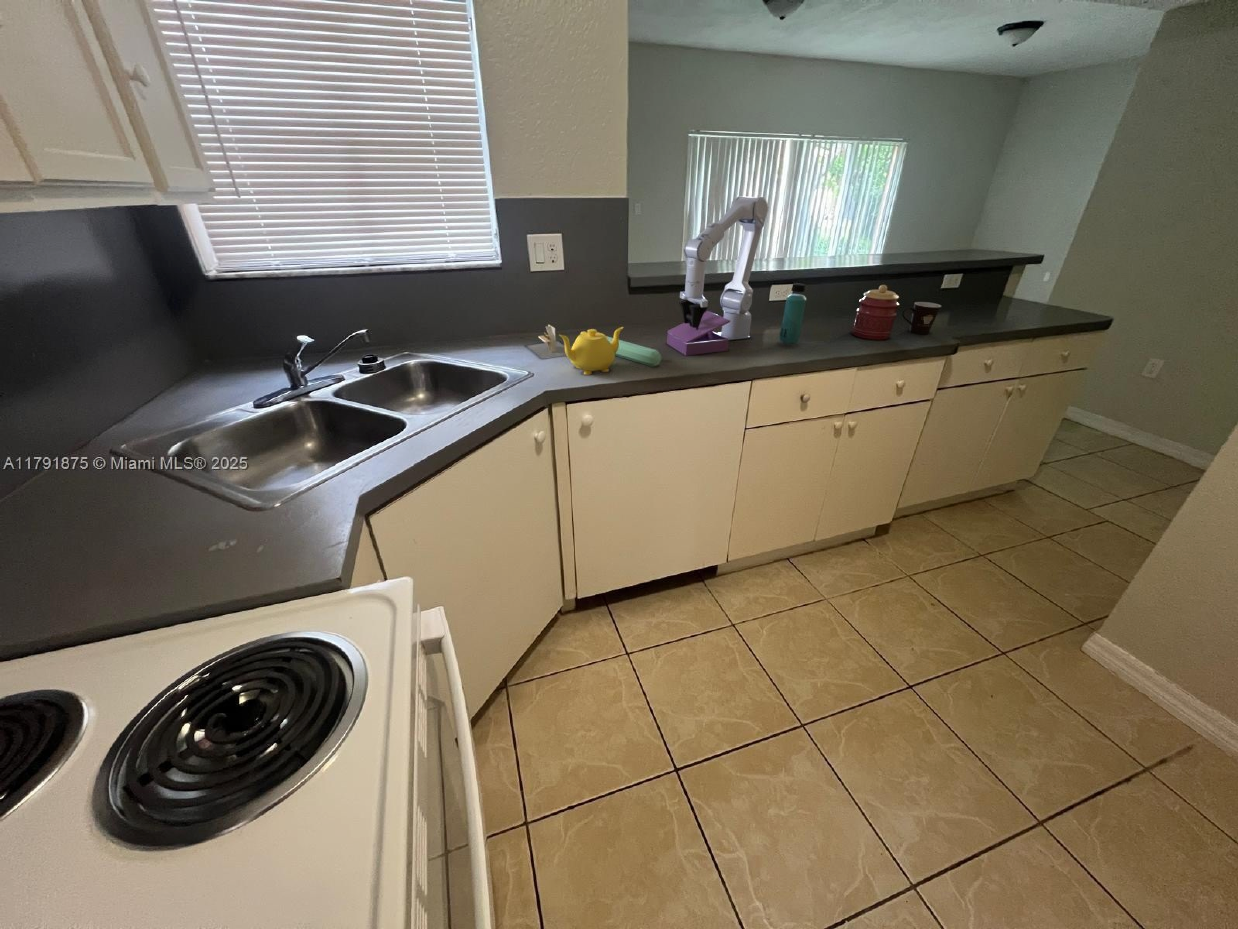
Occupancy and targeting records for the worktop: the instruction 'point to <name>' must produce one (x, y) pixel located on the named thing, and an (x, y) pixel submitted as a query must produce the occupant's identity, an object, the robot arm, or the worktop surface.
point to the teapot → (592, 350)
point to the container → (637, 353)
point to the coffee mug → (922, 317)
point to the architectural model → (548, 345)
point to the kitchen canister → (876, 314)
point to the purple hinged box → (706, 326)
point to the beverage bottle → (793, 315)
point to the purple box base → (699, 344)
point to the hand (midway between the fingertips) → (691, 325)
